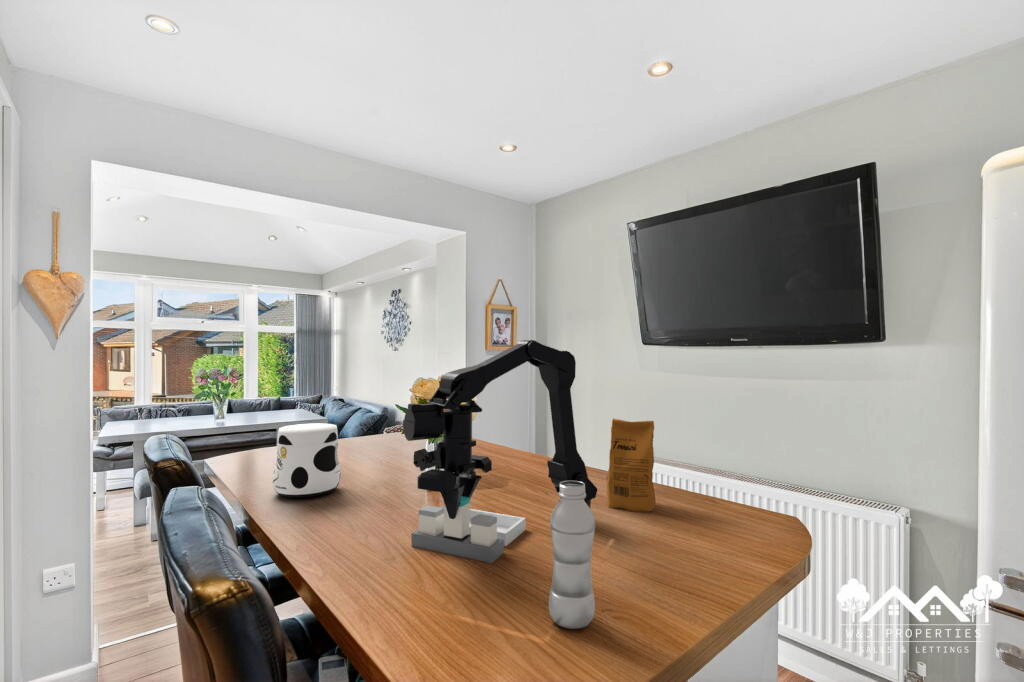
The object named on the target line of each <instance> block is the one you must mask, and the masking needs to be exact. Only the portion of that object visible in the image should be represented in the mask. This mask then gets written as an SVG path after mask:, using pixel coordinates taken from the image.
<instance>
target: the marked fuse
mask: <svg viewBox="0 0 1024 682" xmlns="http://www.w3.org/2000/svg"><path fill="white" fill-rule="evenodd" d="M470 501H471V499H470V497H464V496H461V500H460V504H459V508H458V511H457V514H456V517H455V519H450V518H449V515H448V512H447V509H446V506H445V503H444V502H443V508H444V535H446V536H451V537H456V538H461V539H462V538H463V537H464V536H466V535H467V534H469V518H470V509H471V507H470V505H471V504H470V503H471V502H470Z"/></svg>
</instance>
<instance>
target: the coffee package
mask: <svg viewBox="0 0 1024 682" xmlns="http://www.w3.org/2000/svg"><path fill="white" fill-rule="evenodd" d="M654 421H655V420H641V421H640V420H639V421H628V420H623V419H618V418H614V417H613V418H612V420H611V427H610V449H609V455H608V456H609V462H608V463H609V464H608V472H607V474H606V504H607V507H608V508H610V507H611V509H612V508H615V509H616V508H617V509H618V508H619V509H625V510H627V511H629V512H652V511H653V510H654V507H655V506H656V504H657V501H656V500H657V499H656V493H655V487H654V482H653V478H654V473H653V470H654V464H655V456H654V455H655V454H654V453H655V452H654V446H653V445H654V432H655V422H654Z"/></svg>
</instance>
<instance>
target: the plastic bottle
mask: <svg viewBox="0 0 1024 682" xmlns="http://www.w3.org/2000/svg"><path fill="white" fill-rule="evenodd" d="M559 486H560V492H559V493H558V497H560V500H559V501H560V502H559V501H558V503H557V504H556V505H555V507H554V508H553V510H552V512H551V514H550V519H549V523H550V525H549V526H550V533H551V540H552V556H553V557H552V559H553V561H552V562H553V566H552V567H553V570H552V580H551V587H550V591H549V597H548V610H549V616H550V617H551V619H552V620H553V622H554V623H555V624H556V625H558V626H559V627H561V628H565V629H569V630H578V629H584V628H586V627H587V626H589V624H590V623H591V622H592V620H593V619H594V616H595V611H596V610H595V609H596V602H595V594H594V591H593V582H592V581H593V580H592V556H593V555H592V553H593V545H594V544H593V543H594V537H595V529H596V518H595V515H594V513H593V511H592V509H591V507H590V508H589V506H588V505H587V504H586V502H585V501H584V498H586V493H585V484H584V483H583V482H580V481H562V482H560V485H559Z"/></svg>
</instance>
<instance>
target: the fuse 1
mask: <svg viewBox="0 0 1024 682" xmlns="http://www.w3.org/2000/svg"><path fill="white" fill-rule="evenodd" d="M418 529H419V533H422V534H427V535H432V536H437V535H439V534H441V533H442V532H444V507H439V506H433V505H428V504H427V505H425V506H423V507H421V508H419V509H418Z"/></svg>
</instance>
